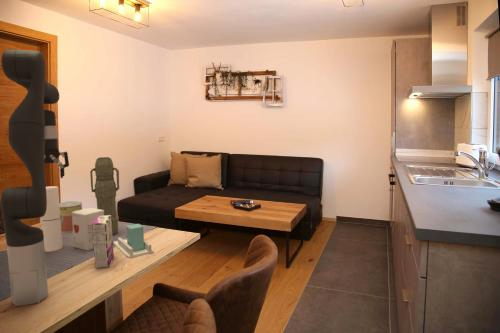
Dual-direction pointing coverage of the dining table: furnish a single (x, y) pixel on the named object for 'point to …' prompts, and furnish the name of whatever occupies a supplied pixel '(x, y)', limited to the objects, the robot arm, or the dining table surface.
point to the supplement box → (84, 227)
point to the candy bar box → (102, 241)
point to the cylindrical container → (52, 221)
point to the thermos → (106, 189)
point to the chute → (128, 249)
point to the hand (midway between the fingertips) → (49, 178)
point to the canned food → (68, 214)
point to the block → (135, 236)
